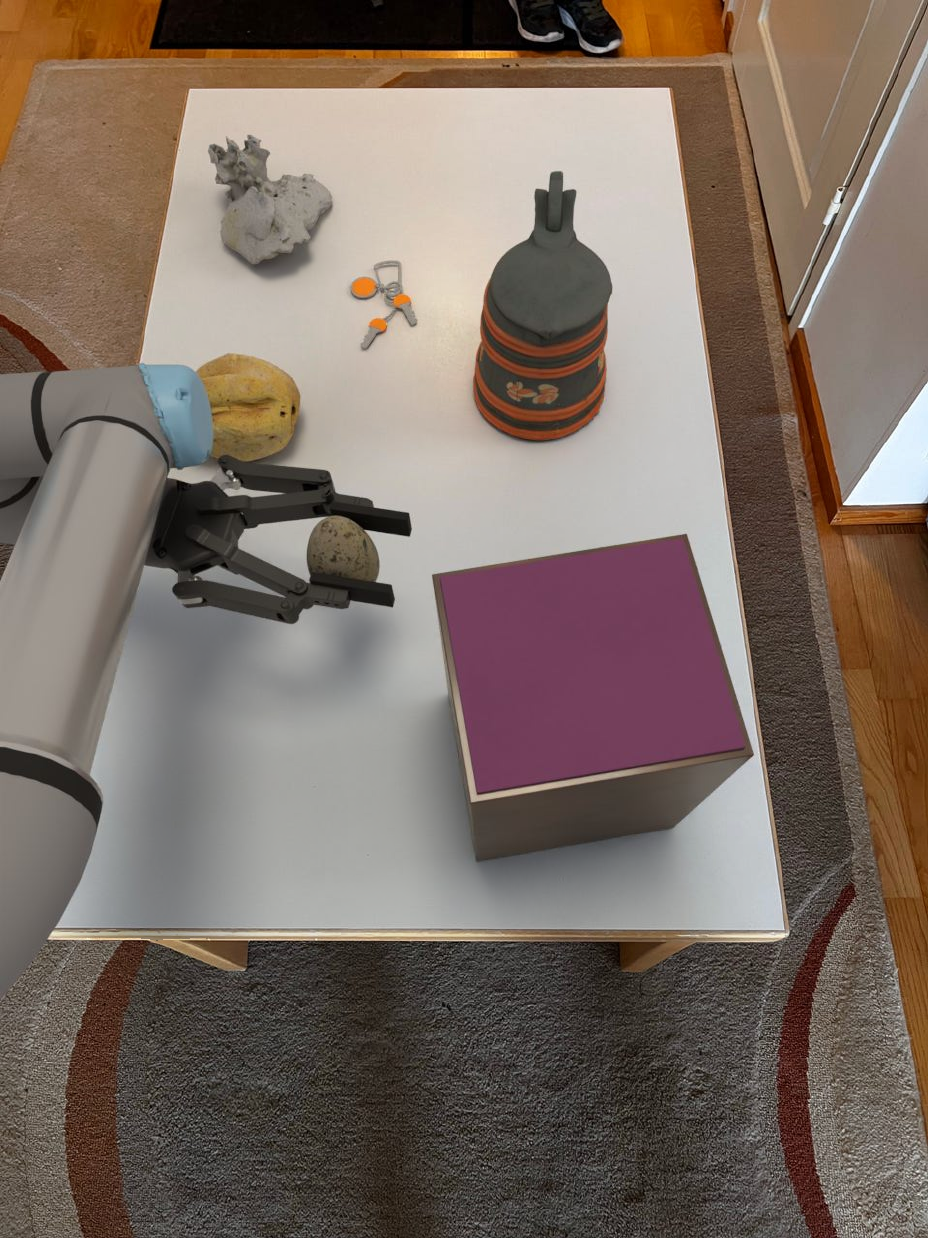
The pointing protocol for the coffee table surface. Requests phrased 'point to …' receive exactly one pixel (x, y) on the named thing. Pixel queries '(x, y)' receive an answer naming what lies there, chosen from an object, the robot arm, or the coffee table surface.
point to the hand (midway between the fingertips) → (400, 559)
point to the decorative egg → (342, 550)
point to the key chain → (368, 288)
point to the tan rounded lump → (249, 406)
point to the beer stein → (544, 328)
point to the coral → (264, 202)
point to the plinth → (588, 800)
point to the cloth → (586, 666)
